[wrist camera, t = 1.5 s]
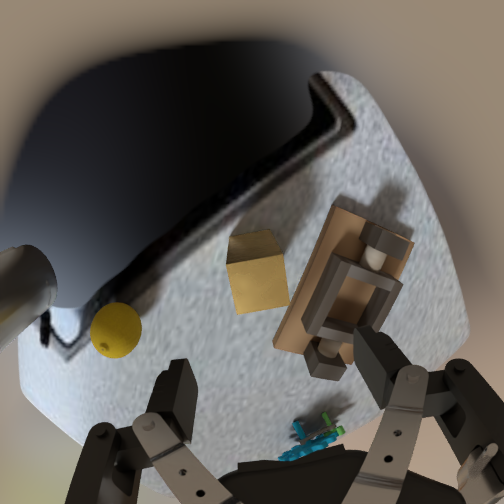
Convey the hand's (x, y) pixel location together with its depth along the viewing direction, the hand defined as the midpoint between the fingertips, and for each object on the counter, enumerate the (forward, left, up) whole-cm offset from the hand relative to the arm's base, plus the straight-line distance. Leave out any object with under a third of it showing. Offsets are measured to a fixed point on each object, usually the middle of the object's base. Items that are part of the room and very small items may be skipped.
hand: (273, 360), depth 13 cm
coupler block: (0, 0, -18) cm, 18 cm away
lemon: (-12, -12, -18) cm, 25 cm away
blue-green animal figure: (+18, -25, -18) cm, 36 cm away
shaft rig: (+11, -1, -18) cm, 21 cm away
